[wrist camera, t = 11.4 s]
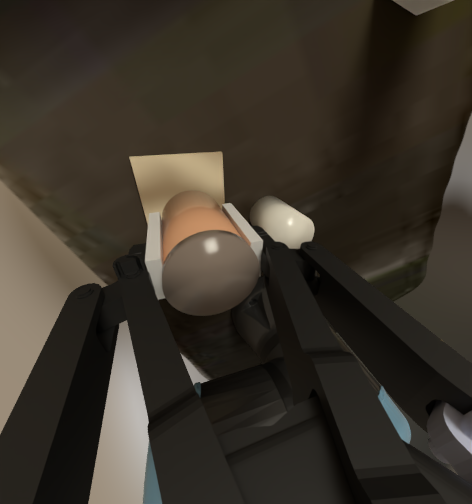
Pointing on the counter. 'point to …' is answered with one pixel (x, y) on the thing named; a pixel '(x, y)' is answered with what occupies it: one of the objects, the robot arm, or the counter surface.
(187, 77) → the counter surface
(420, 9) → the milk
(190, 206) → the jar
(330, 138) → the counter surface
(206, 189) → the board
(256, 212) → the white rounded cylinder
